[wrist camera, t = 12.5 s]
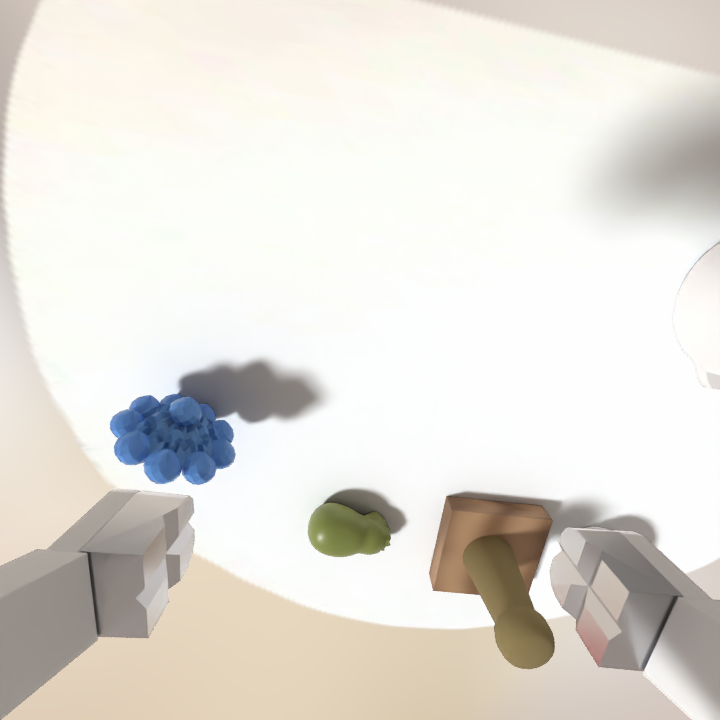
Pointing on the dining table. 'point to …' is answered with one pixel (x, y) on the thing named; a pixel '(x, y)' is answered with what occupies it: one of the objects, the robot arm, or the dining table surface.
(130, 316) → the dining table surface
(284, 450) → the dining table surface
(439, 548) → the walnut block
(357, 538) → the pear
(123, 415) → the grapes
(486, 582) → the pepper mill
